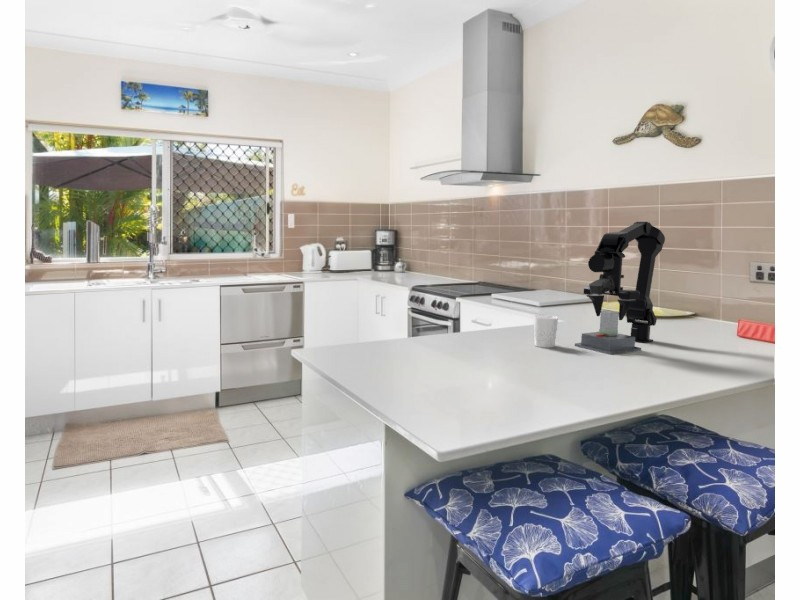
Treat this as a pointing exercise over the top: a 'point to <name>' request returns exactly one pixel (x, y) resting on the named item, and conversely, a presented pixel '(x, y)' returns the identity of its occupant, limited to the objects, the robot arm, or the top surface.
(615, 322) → the column
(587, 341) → the housing
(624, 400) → the top surface
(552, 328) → the white cup
